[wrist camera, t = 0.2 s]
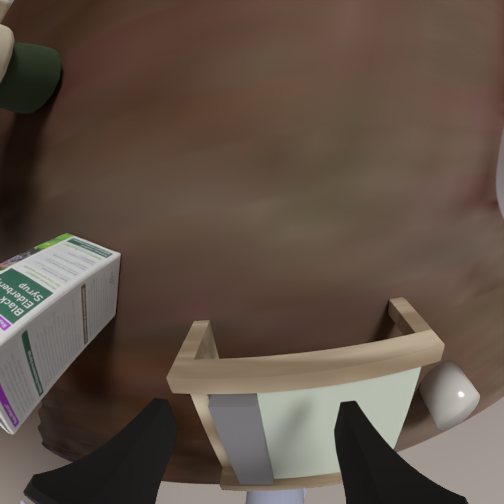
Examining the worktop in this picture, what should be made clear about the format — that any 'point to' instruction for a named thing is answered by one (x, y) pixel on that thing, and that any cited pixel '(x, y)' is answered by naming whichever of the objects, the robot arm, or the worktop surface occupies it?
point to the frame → (294, 377)
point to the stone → (448, 395)
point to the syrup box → (50, 317)
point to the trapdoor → (303, 425)
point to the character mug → (25, 71)
